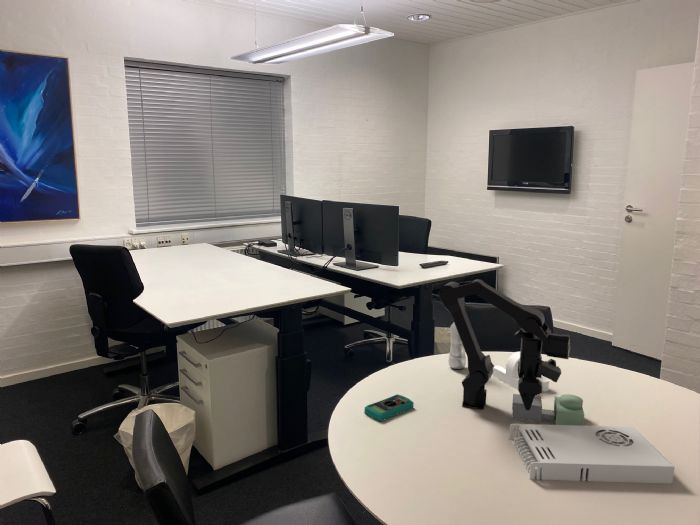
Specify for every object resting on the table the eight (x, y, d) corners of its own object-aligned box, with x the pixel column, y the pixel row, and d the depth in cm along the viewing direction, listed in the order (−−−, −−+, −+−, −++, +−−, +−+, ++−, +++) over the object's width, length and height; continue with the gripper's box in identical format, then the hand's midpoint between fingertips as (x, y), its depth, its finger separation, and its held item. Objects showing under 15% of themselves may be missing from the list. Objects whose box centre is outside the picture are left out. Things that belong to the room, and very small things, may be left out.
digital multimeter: (415, 409, 157) (415, 399, 157) (380, 423, 148) (380, 414, 148) (398, 401, 163) (398, 392, 163) (363, 414, 154) (363, 405, 153)
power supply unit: (508, 440, 140) (509, 423, 139) (632, 444, 138) (634, 426, 137) (529, 481, 121) (531, 462, 120) (672, 486, 120) (675, 466, 119)
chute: (512, 418, 151) (513, 402, 150) (512, 409, 157) (513, 393, 156) (540, 422, 149) (542, 406, 148) (539, 412, 155) (541, 397, 154)
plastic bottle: (448, 370, 187) (450, 317, 183) (447, 363, 193) (449, 312, 190) (466, 371, 186) (468, 318, 182) (465, 365, 192) (467, 313, 189)
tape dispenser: (511, 371, 187) (513, 343, 185) (549, 390, 171) (552, 360, 169) (490, 376, 183) (492, 347, 181) (528, 395, 167) (530, 364, 165)
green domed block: (515, 421, 149) (517, 398, 148) (515, 406, 158) (516, 385, 157) (582, 431, 144) (585, 407, 142) (578, 415, 153) (580, 393, 152)
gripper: (563, 367, 138) (559, 421, 141) (557, 345, 156) (553, 394, 158) (520, 363, 141) (516, 415, 144) (519, 342, 159) (516, 389, 162)
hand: (527, 403), depth 152 cm, fingers open, 9 cm apart
